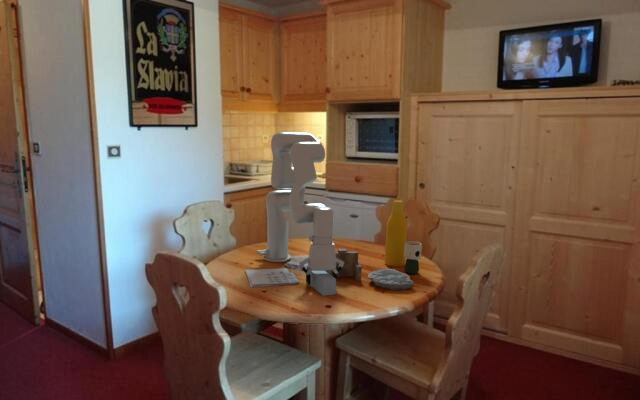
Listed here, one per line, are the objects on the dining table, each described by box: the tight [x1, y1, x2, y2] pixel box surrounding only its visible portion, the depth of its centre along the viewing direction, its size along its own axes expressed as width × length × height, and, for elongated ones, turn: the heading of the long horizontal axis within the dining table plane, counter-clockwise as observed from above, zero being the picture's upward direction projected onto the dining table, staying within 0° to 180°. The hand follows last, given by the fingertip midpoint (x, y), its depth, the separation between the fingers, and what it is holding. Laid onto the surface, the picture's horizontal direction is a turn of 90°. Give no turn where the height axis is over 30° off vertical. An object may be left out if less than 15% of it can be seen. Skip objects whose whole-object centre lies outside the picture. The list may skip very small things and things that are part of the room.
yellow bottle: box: [384, 199, 408, 268], centre depth 212 cm, size 9×9×29 cm
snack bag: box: [244, 267, 300, 288], centre depth 191 cm, size 19×20×2 cm
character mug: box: [403, 241, 423, 275], centre depth 201 cm, size 11×7×13 cm, turn 145°
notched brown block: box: [325, 248, 363, 282], centre depth 192 cm, size 13×9×11 cm, turn 100°
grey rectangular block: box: [306, 264, 337, 296], centre depth 181 cm, size 5×16×7 cm, turn 24°
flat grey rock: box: [367, 268, 415, 291], centre depth 188 cm, size 20×17×3 cm
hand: (321, 283), depth 181 cm, fingers open, 9 cm apart
